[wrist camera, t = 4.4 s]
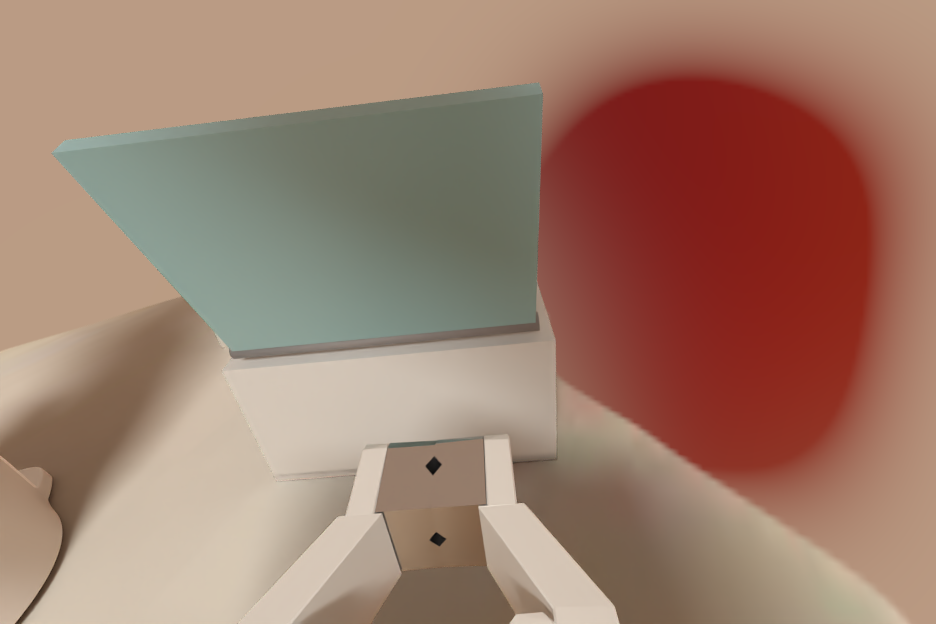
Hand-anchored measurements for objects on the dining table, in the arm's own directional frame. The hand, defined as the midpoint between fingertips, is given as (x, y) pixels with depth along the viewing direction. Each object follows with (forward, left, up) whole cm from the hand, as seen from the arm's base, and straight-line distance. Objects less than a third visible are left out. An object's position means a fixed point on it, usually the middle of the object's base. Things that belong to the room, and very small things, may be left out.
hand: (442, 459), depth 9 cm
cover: (-4, +12, 0) cm, 12 cm away
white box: (-4, +19, -15) cm, 25 cm away
